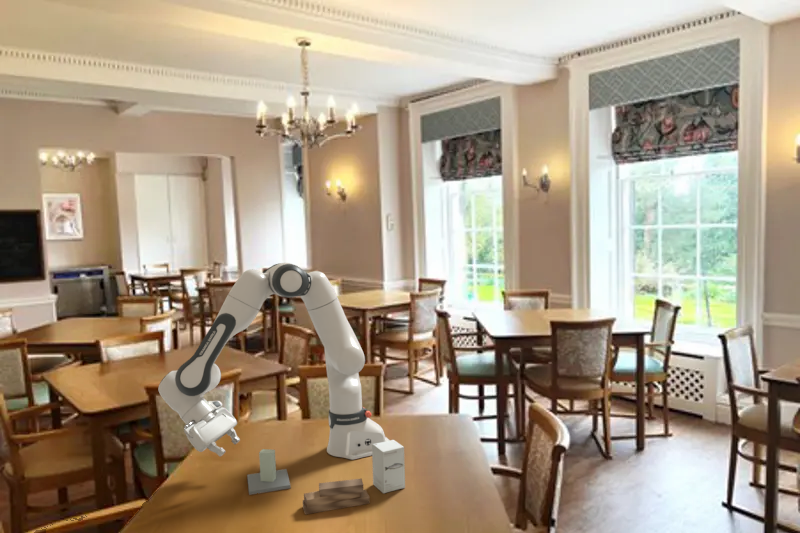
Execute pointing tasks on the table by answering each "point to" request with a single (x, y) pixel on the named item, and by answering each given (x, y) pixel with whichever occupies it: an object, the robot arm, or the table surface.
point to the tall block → (267, 465)
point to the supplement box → (388, 466)
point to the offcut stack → (335, 496)
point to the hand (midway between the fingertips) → (230, 448)
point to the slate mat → (264, 486)
